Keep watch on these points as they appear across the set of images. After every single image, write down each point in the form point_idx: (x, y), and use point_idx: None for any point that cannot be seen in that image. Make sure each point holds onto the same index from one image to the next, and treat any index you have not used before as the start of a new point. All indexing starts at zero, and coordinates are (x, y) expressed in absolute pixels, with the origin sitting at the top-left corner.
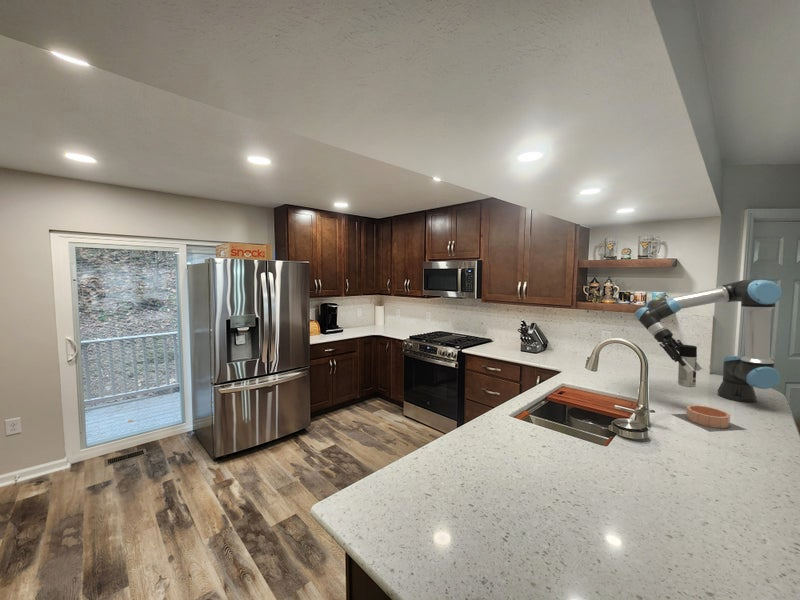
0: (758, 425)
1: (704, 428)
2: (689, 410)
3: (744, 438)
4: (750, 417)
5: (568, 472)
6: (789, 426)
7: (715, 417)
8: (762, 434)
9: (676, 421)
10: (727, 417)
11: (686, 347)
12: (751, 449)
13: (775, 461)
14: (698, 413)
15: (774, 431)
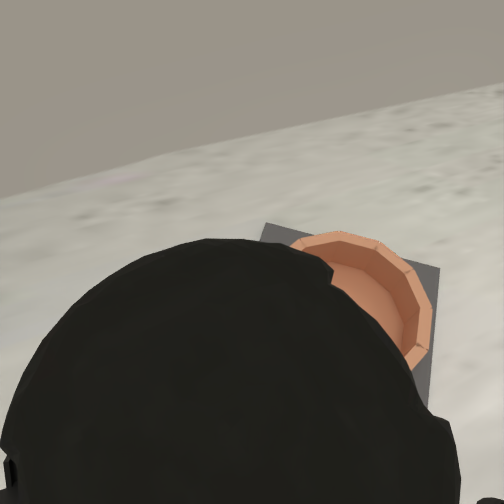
0: (150, 231)
1: (430, 291)
2: (425, 353)
3: (356, 204)
4: (57, 280)
5: None
6: (52, 185)
7: (394, 254)
8: (250, 194)
9: (465, 397)
10: (342, 232)
11: (409, 384)
12: (430, 166)
13: (445, 120)
14: (428, 307)
15: (172, 188)
